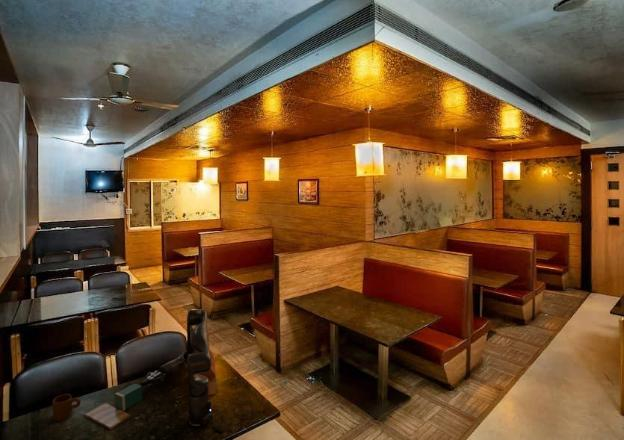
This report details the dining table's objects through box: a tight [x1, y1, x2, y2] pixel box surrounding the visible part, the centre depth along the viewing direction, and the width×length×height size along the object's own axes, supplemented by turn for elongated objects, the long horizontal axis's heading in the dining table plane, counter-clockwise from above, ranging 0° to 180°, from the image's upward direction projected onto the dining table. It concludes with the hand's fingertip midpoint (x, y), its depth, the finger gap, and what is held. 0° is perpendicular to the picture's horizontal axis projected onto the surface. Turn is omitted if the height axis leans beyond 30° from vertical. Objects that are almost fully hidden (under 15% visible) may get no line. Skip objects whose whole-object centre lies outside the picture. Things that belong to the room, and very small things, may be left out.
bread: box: [197, 350, 218, 396], centre depth 197 cm, size 25×12×15 cm, turn 18°
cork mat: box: [84, 402, 132, 430], centre depth 169 cm, size 20×10×1 cm, turn 63°
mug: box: [51, 393, 82, 422], centre depth 169 cm, size 12×8×9 cm, turn 97°
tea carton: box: [114, 383, 143, 412], centre depth 179 cm, size 6×11×8 cm, turn 153°
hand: (141, 384), depth 185 cm, fingers closed
